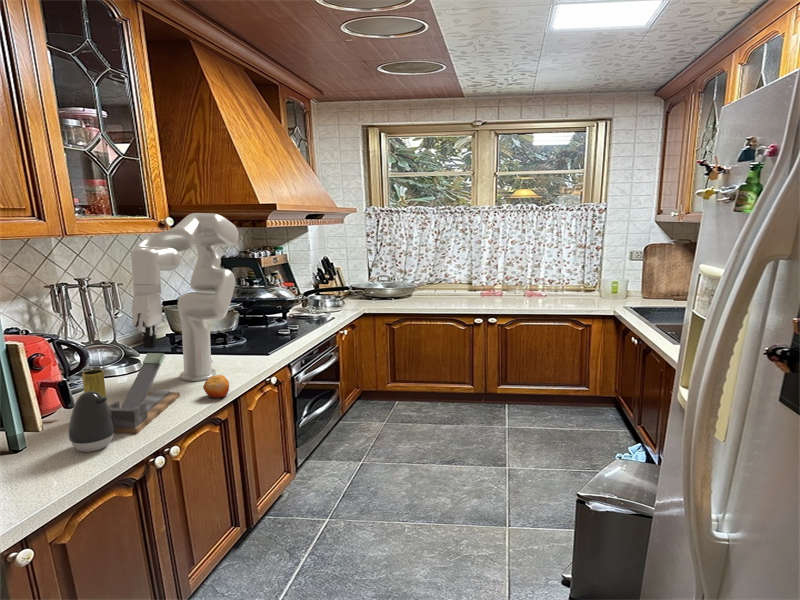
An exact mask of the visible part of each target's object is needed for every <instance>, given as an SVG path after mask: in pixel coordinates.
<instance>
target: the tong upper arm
mask: <svg viewBox="0 0 800 600" xmlns="http://www.w3.org/2000/svg"><path fill="white" fill-rule="evenodd" d="M165 357H166V355H165V353H163V352H162V353H161V352H154V353H153V352H147V353H146V355H145V356H144V359H143V361H142V365H141V366H140V369H139V372H138V373H137V375H136V377H135V379H134V381H133V383H132V385H131V387H130V388H129V391H128V392H127V395H126V397H125V399H124V400H123V402H122V405H120V408H135V407H136V406H138V405H139V404H140V403H142V402H143V401H144V399H145V397H146V395H147V393H148V392H150V391H149V390H150V388H151V386H152V385H153V382H154V381H155V378H156V377H157V374H158V372H159V369H160V368H161V366H162V363H163V362H164V360H165Z"/></svg>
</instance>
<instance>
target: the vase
mask: <svg viewBox="0 0 800 600" xmlns="http://www.w3.org/2000/svg"><path fill="white" fill-rule="evenodd" d="M81 376H82V384H83V385H82V387H83V393H85V392H88V391H95V392H97V393H99V394H100V395H101V396H102V397H107V391H106V382H105V372H104V370H103V369H101V368H95V369H93V368H92V369H89V370H85V371H83V372H82V375H81ZM107 400H108V399H107ZM107 400H106V403H107V404H108V401H107Z"/></svg>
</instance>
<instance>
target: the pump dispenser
mask: <svg viewBox="0 0 800 600" xmlns="http://www.w3.org/2000/svg"><path fill="white" fill-rule="evenodd" d="M106 400H108V398H107V396H106V397H102V396H101V395H100V394H99V393H97V392H95V391H88V392H85V393H84V392H82V393H81V394H80V395H79V396H78V398H77V399H76V401H75V403H74V405H73V408H72V411H71V414H70V420H69V424H68V425H69V426H68V440H69V441H70V442H71V445H72V446H73V447H74V448H75V449H76V450H77V451H80V452H85V453H91V452H96V451H99V450H103V448H106V447H107V446H108V445H109V444H110V443H111V442H112V441H113V440H112V439H113V438H114V435H115V434H114V432H115V424H114V420H113V416H112V414H111V411H110V409H109V407H108V406H109V405H108V402H107V403H106Z"/></svg>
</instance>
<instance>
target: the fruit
mask: <svg viewBox="0 0 800 600" xmlns="http://www.w3.org/2000/svg"><path fill="white" fill-rule="evenodd" d="M203 390H204V391H205V394H206V395H207V396H208V397H209V398H210V399H218V398H225V397H227V395H228V393H229V390H230V382H229V380H228V379H227V378H226V376H225V375H223V374H216V375H215V376H212V377H210V378H209V379H206V380H205V382H204V384H203Z"/></svg>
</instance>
